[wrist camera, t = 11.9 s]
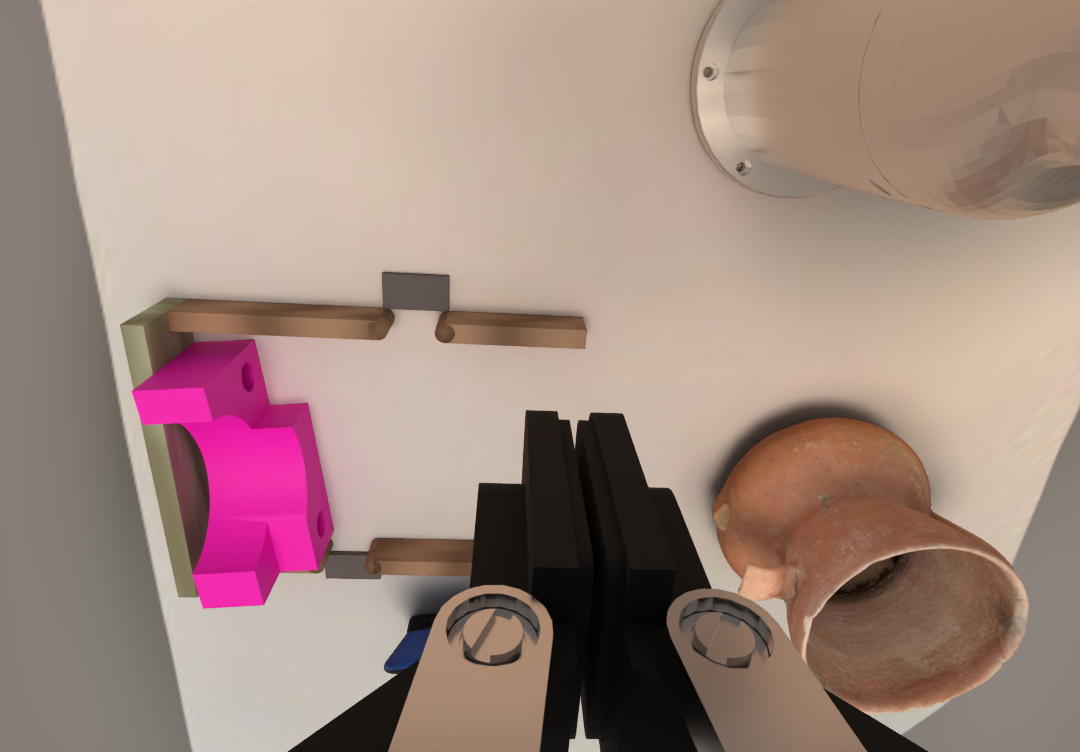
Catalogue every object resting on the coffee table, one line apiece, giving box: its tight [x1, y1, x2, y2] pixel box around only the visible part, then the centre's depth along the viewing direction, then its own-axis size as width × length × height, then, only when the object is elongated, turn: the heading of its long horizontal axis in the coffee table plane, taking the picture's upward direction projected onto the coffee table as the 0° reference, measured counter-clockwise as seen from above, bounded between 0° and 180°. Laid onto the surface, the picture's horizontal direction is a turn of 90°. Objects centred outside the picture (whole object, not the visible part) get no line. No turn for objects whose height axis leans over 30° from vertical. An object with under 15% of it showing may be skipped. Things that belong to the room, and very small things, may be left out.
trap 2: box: [382, 272, 449, 311], centre depth 39 cm, size 4×2×1 cm, turn 86°
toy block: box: [132, 339, 334, 609], centre depth 40 cm, size 15×6×8 cm, turn 2°
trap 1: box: [325, 551, 381, 579], centre depth 47 cm, size 4×2×1 cm, turn 86°
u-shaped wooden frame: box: [120, 298, 587, 597], centre depth 41 cm, size 26×19×5 cm
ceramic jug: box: [712, 418, 1029, 714], centre depth 40 cm, size 18×14×14 cm
